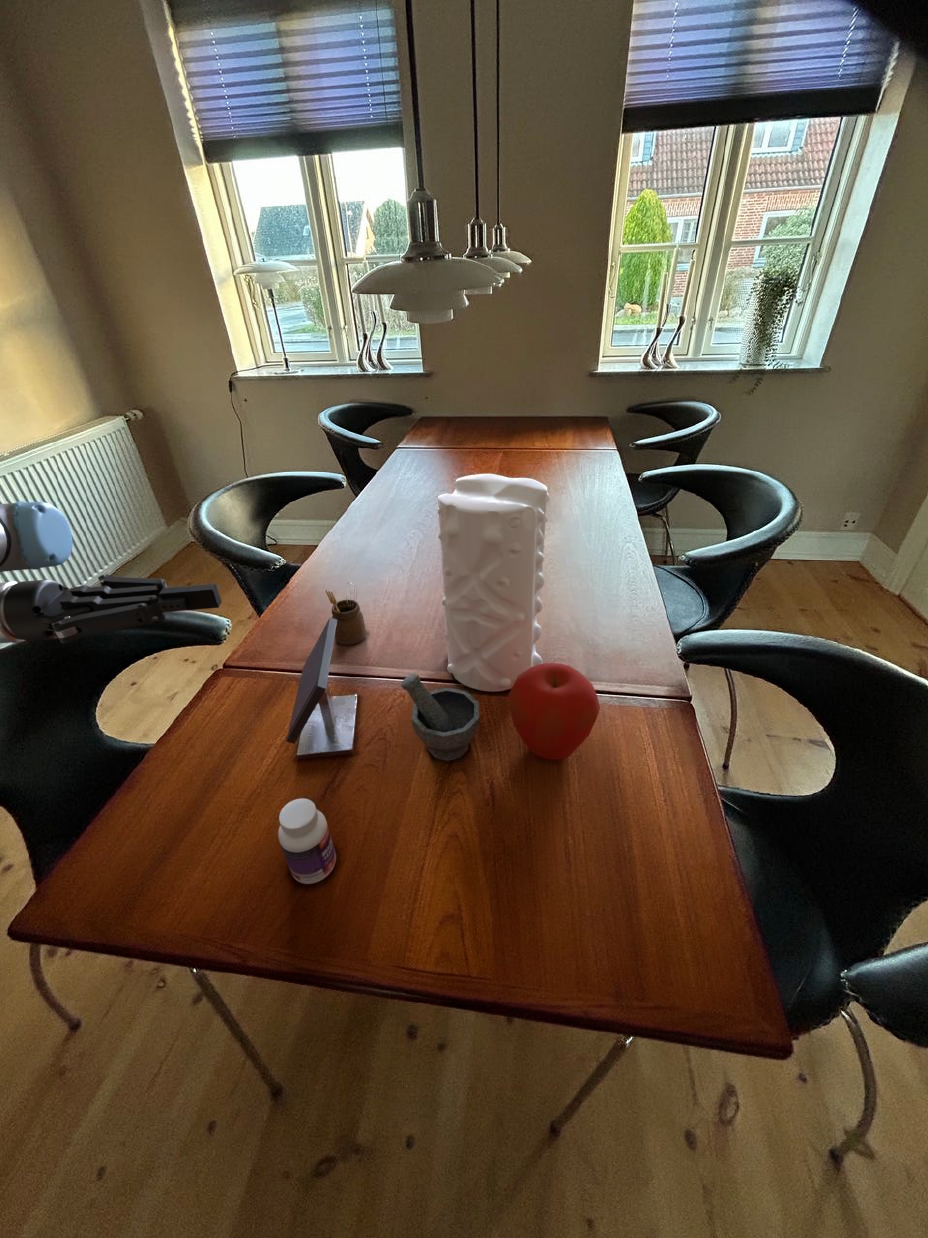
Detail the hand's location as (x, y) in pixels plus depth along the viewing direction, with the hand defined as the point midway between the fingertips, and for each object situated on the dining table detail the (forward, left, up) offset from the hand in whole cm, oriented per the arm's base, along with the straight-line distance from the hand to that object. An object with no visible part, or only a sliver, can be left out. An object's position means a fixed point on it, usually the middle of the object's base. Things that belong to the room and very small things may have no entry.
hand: (217, 595), depth 68 cm
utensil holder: (+24, +11, -25) cm, 37 cm away
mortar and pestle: (+17, -22, -25) cm, 38 cm away
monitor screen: (+5, -4, -19) cm, 20 cm away
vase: (+36, -15, -25) cm, 47 cm away
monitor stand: (+7, -6, -25) cm, 27 cm away
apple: (+27, -34, -25) cm, 50 cm away
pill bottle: (-7, -24, -25) cm, 36 cm away
